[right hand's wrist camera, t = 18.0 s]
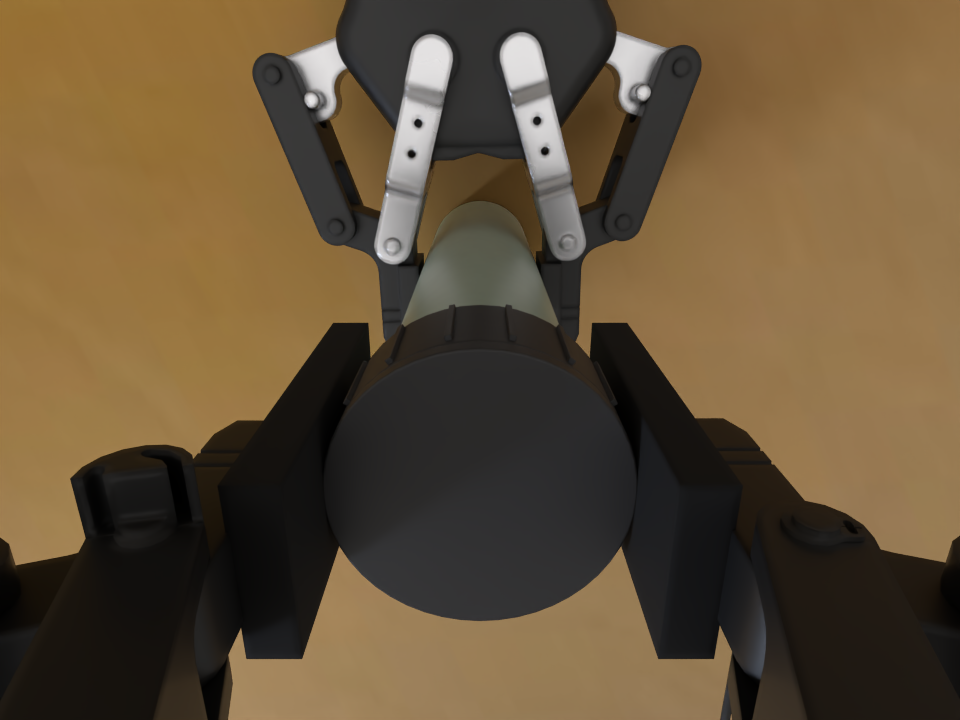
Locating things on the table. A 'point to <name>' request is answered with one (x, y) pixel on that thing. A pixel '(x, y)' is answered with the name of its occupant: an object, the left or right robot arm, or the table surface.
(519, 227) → the bottle
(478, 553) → the lid
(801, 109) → the table surface
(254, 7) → the table surface
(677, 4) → the table surface
